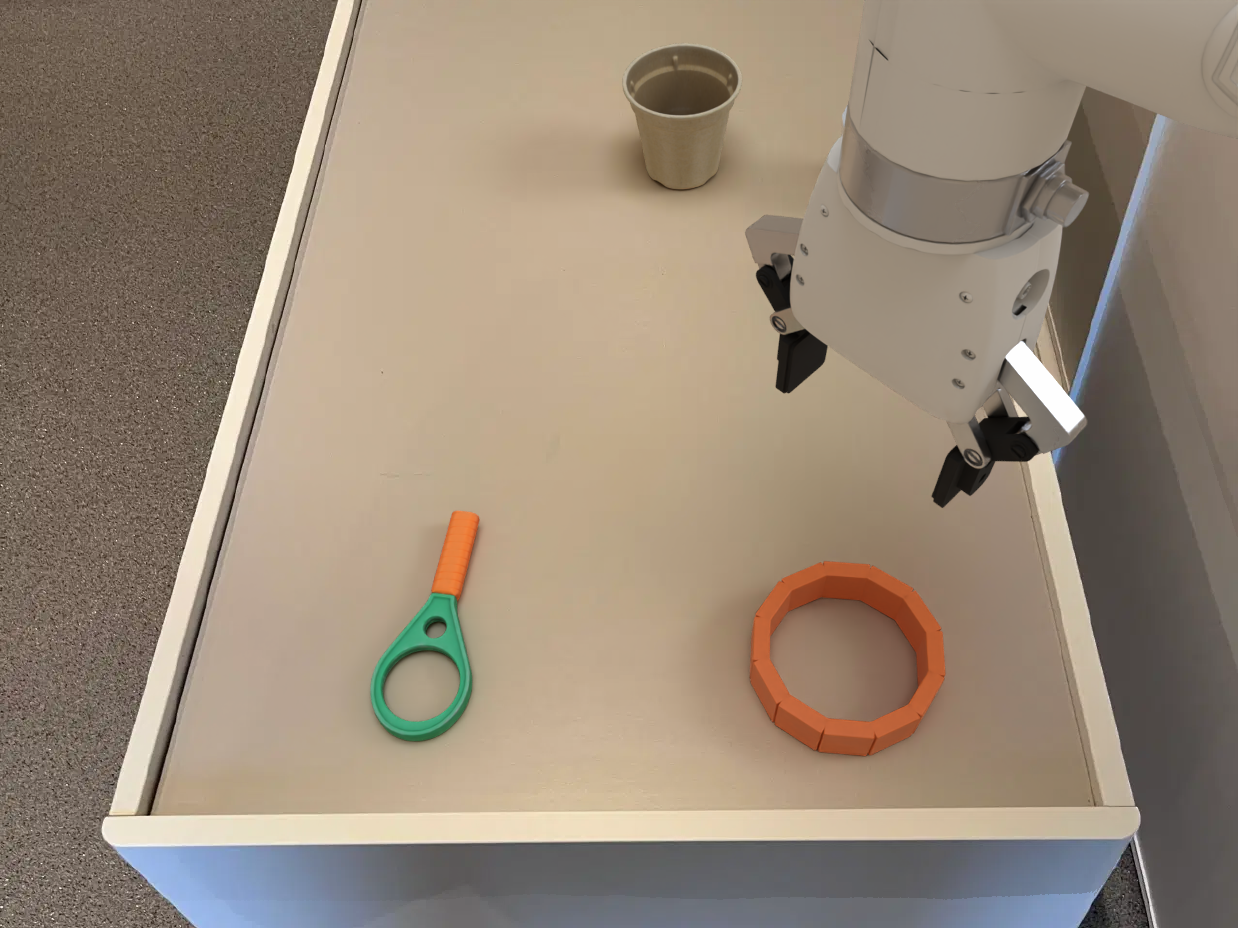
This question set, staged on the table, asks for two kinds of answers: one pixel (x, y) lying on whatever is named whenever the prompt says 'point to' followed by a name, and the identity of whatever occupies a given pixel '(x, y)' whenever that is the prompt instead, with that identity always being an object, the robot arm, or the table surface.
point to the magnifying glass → (450, 643)
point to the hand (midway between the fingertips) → (874, 429)
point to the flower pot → (682, 109)
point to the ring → (884, 598)
